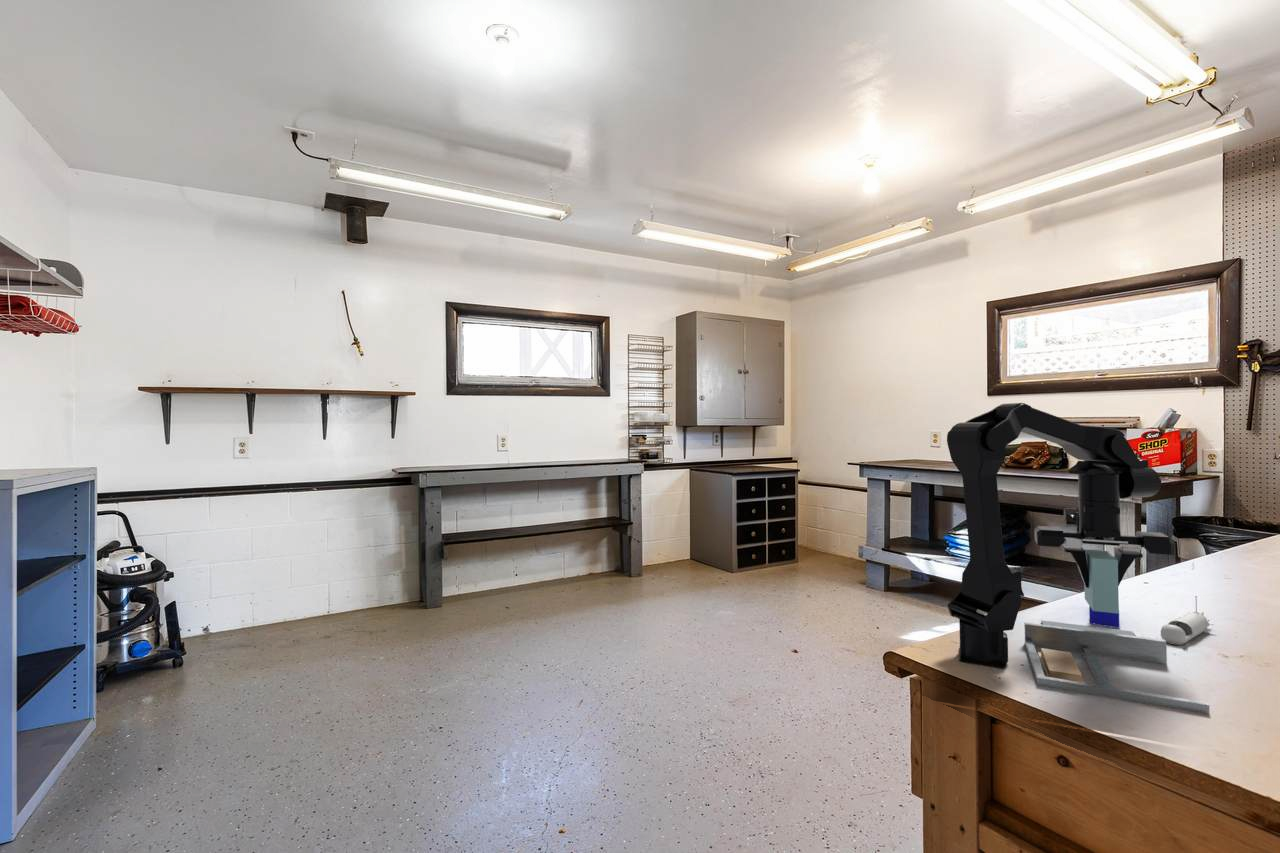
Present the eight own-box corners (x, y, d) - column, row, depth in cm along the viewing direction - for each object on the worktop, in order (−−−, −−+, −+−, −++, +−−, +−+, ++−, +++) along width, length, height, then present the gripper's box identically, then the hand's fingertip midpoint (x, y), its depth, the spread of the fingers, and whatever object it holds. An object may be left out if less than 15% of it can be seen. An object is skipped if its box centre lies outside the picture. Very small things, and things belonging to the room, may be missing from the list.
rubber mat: (1051, 646, 102) (1051, 644, 102) (1041, 622, 115) (1041, 620, 115) (1155, 661, 96) (1154, 658, 96) (1132, 634, 108) (1132, 631, 108)
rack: (1037, 687, 87) (1037, 660, 87) (1024, 644, 103) (1024, 622, 103) (1209, 716, 78) (1208, 686, 78) (1164, 664, 94) (1164, 639, 94)
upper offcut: (1049, 678, 89) (1049, 670, 89) (1041, 655, 98) (1041, 648, 98) (1082, 683, 87) (1082, 675, 87) (1070, 659, 96) (1070, 652, 96)
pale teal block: (1092, 610, 100) (1091, 558, 100) (1084, 598, 107) (1083, 549, 107) (1118, 613, 98) (1117, 560, 98) (1108, 600, 105) (1107, 551, 105)
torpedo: (1188, 651, 100) (1188, 613, 100) (1153, 642, 104) (1153, 606, 104) (1220, 630, 110) (1219, 595, 110) (1186, 623, 114) (1186, 590, 114)
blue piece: (1119, 628, 111) (1118, 597, 111) (1089, 624, 114) (1089, 593, 114) (1119, 613, 121) (1118, 584, 121) (1091, 608, 123) (1091, 580, 123)
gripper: (1155, 496, 105) (1157, 583, 105) (1030, 492, 114) (1032, 572, 114) (1174, 504, 95) (1176, 600, 95) (1036, 499, 104) (1038, 586, 104)
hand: (1100, 588), depth 102 cm, fingers closed on pale teal block, 3 cm apart
